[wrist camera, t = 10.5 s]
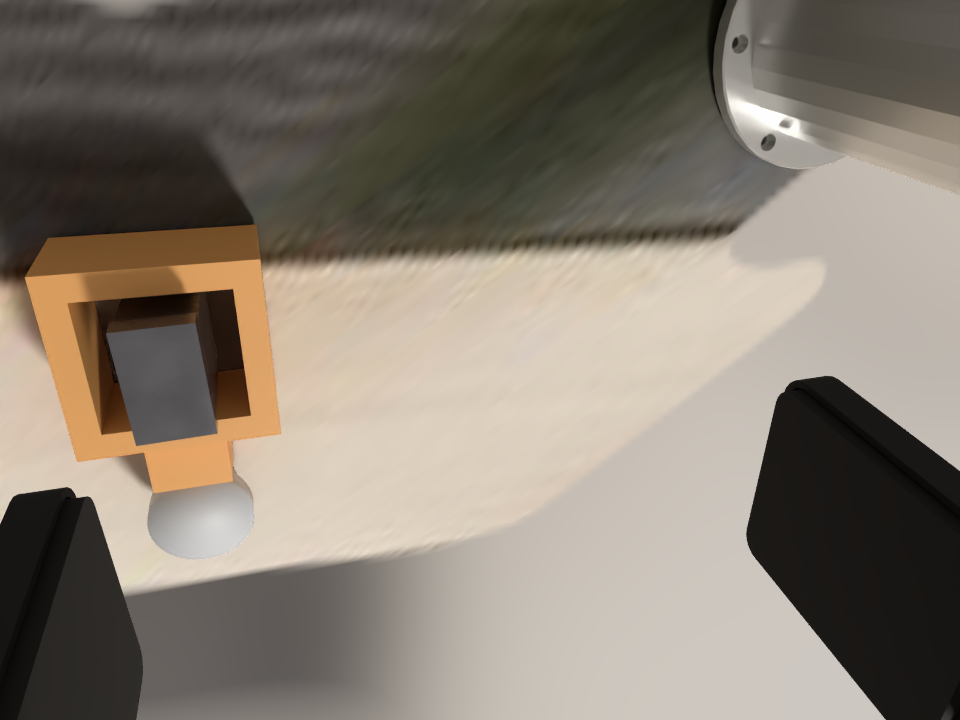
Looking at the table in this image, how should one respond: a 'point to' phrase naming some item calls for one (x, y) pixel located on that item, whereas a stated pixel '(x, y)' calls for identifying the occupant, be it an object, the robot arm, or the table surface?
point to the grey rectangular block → (166, 366)
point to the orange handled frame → (99, 401)
